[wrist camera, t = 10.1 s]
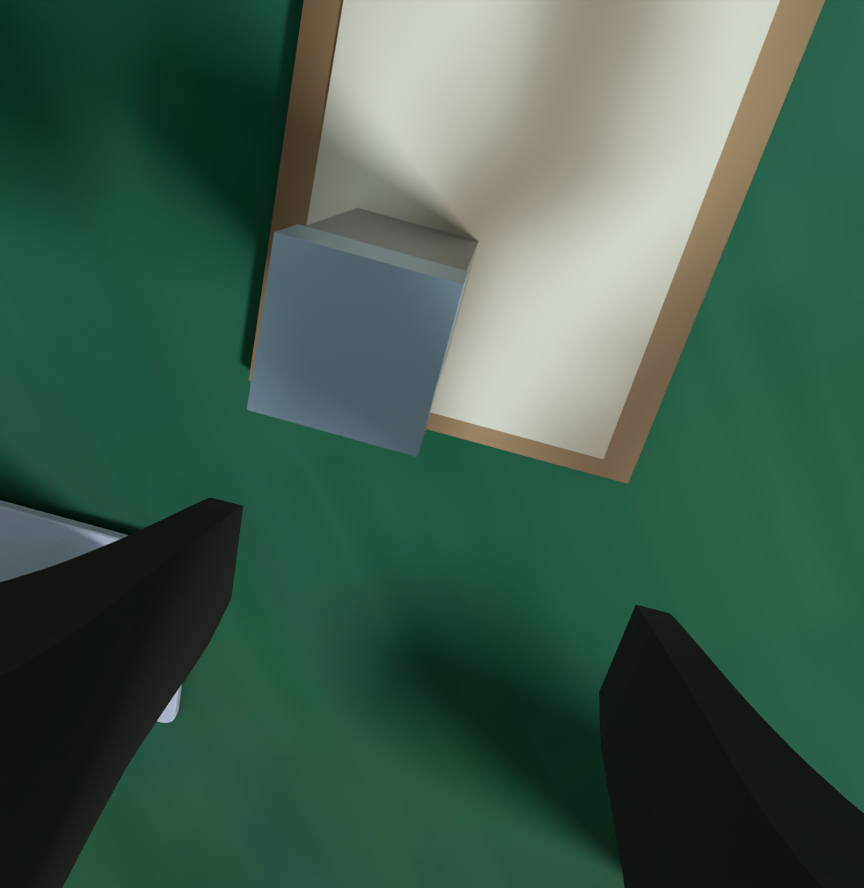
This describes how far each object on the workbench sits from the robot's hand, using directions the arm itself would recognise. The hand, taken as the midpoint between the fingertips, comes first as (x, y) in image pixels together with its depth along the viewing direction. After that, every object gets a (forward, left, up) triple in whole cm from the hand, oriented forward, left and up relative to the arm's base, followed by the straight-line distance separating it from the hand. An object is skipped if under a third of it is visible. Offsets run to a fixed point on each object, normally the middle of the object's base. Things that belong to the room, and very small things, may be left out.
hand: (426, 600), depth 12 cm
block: (-3, +3, -9) cm, 10 cm away
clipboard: (-1, +7, -10) cm, 12 cm away
